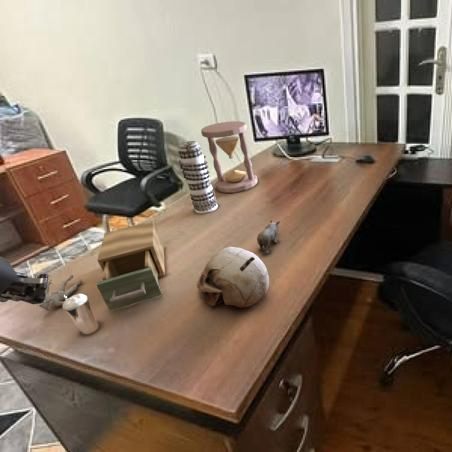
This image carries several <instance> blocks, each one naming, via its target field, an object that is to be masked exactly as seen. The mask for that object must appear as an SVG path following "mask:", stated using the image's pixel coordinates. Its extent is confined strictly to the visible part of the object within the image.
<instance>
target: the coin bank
mask: <svg viewBox="0 0 452 452" xmlns="http://www.w3.org/2000/svg"><path fill="white" fill-rule="evenodd" d="M196 288H197V289H198V290H199V293H200V296H201V298H202V299H203V301H204V302H206V303H207V304H208V305H209V306H210V307H215V306H218V305H219V304H220V303H222V302H224V304H225V305H227V306H229V305H230V306H235V307H237V308H241V309H243V308H246V307H250V306H253V305H256V304H257V303H258V302H260V301H261V299H262V298H263V297H264V296H265V295H266V294H267V293H268V291H269V288H270V277H269V272H268V268H267V267H266V265H265V263H264V262H263V261H262V259H260V257H259V256H257V254H255V253H253V252H251V251H249V250H247V249H244V248H241V247H236V246H227V247H225V248H223V249H221V250H219V251H217V252H216V253H215V254H214V255H213V256H212V257H210V259H209V260H208V261H207V262H206V264H205V266H204V268H203V270H202V271H201V275H200V276H199V278H198V280H197V282H196Z"/></svg>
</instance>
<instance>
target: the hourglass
mask: <svg viewBox="0 0 452 452" xmlns="http://www.w3.org/2000/svg"><path fill="white" fill-rule="evenodd" d="M247 130H248V127H247V124H246V122H244V121H238V120H235V121H234V120H233V121H224V122H217V123H213V124H209V125H207V126H204V127H202V128H201V129H200V132H201V136H202V137H204V138H207V142H208V149H209V153H210V154H211V156H212V158H213V168H214V170H215V172H216V176H217V181H215V189H216V190H217V191H218V192H219V193H225V194H233V193H241V192H243V191H247V190H249V189H251V188H254V187H255V186H256V185H257V184H258V182H259V181H258V177H257V175H256V174H254V173H253V165H252V160H251V158H250V156H249V145H248V143H247V140H246V139H247V138H246V134H245V132H246V131H247ZM236 135H238V136H236ZM214 139H216V140H214ZM238 143H240V144H239V145H240V150H241V152H242V154H243V164H244V168H245V170H246V171H243V170H237V169H234V170H232V171H230V172H228V173H226V174H225V175H223V171H222V170H223V169H222V163H221V161H220V160H219V158H218V148H220V150H222V151H223V152H224V153H225V154H226V155H227V156H228V158H229V159H230V160H231V159H234V153H235V150H236V148H237V146H238ZM217 147H218V148H217Z"/></svg>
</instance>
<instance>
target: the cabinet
mask: <svg viewBox="0 0 452 452" xmlns="http://www.w3.org/2000/svg"><path fill="white" fill-rule="evenodd" d="M149 249H150V250H151V252H152V254H153V257H154V259H155V262H156V264H157V267H158V278H162V277H165V276H166V271H165V269H166V267H165V249H164V246H163V243H162V241H161V238H160V235H159V232H158V229H157V227H156V226H155V222H154V221H153V220H151V221H148V222H144V223H140V224H136V225H132V226H127V227H123V228H120V229H116V230H110V231H107V232H104V233H103V238H102V242H101V245H100V250H99V253H98V255H97V262H98V264H99V267H100V269H101V271H102V273H103V272H104V268H105V264H106V261H109V260H112V259H116V258H120V257H123V256H127V255H131V254H135V253H138V252H142V251H146V250H149Z"/></svg>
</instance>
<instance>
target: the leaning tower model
mask: <svg viewBox="0 0 452 452" xmlns="http://www.w3.org/2000/svg"><path fill="white" fill-rule="evenodd" d="M176 151H177V153H178V156H179V161H178V164H179V167H180V169H181V170H182V171H181V173H182V175H183V178H184V179H185V183H186V184H187V185H188V189H189V196H190V200H191V201H192V202H191V203H192V206H193V209H194V212H195V213H196V214H208V213H211V212H213V211H215V210H217V209H218V207H219V205H218V201H217V197H216V196H215V195H216V194H215V192H214V188H213V185H212V183H211V181H210V179H211V175H210V171H209V170H207V169H208V168H209V165H207V164H208V161H206V160H205V159H206V158H207V157H206V155H204V153H203V152H202V144H200V143H198V142H197V141H195V140H189V141H184V142H181V143H180V144H179V145H178V147H177V149H176Z"/></svg>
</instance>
